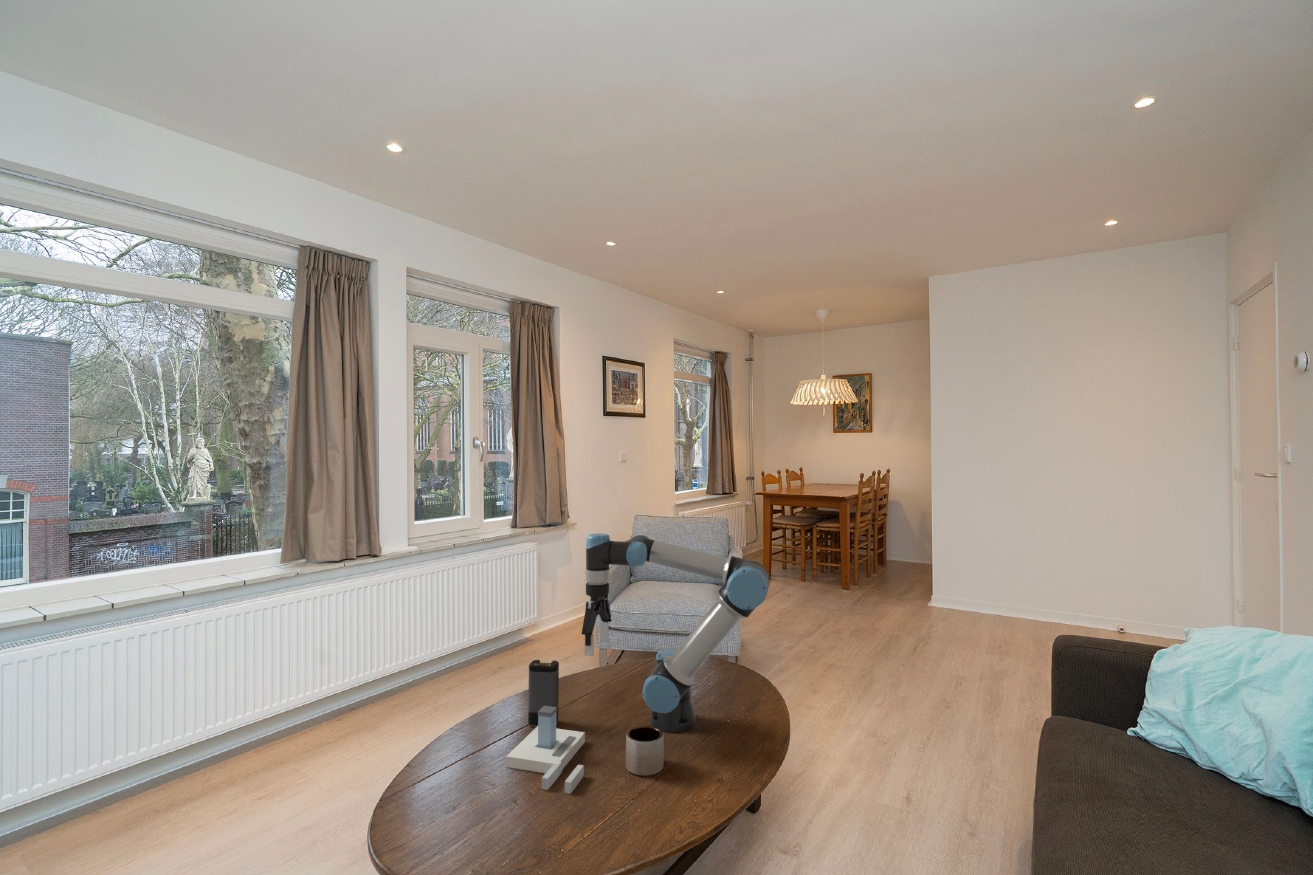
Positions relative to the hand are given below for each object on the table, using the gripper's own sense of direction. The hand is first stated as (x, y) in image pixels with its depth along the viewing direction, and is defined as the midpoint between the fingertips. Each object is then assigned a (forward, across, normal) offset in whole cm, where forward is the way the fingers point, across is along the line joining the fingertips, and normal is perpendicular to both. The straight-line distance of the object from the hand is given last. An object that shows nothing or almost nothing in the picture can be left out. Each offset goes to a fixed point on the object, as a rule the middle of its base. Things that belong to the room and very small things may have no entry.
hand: (596, 648), depth 194 cm
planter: (+27, +16, +21) cm, 38 cm away
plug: (+27, +17, -9) cm, 33 cm away
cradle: (+27, +30, +2) cm, 40 cm away
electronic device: (+27, -1, -19) cm, 33 cm away
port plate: (+27, +17, -9) cm, 33 cm away
